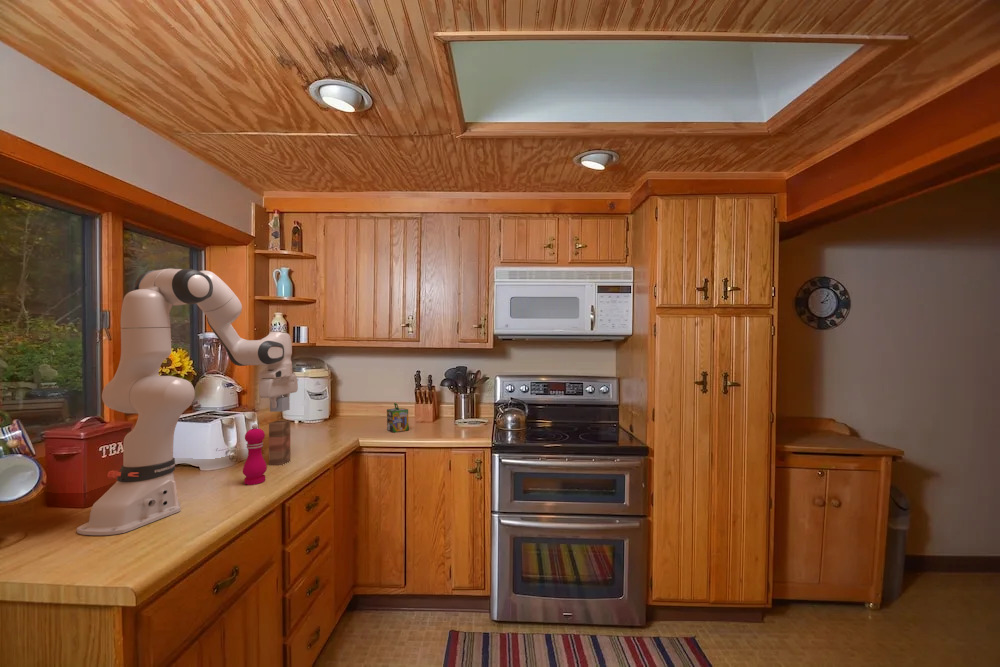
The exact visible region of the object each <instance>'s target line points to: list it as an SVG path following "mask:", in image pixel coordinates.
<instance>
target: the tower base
mask: <svg viewBox="0 0 1000 667" xmlns="http://www.w3.org/2000/svg"><path fill="white" fill-rule="evenodd" d="M289 461H290V462H291V447H290V448H289V449H287V450H285V451H269V450H268V466H279V465H282V466H284V465H286V464H288V463H290V462H289ZM287 462H288V463H287ZM285 463H286V464H285ZM283 464H284V465H283Z"/></svg>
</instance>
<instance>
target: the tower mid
mask: <svg viewBox="0 0 1000 667" xmlns="http://www.w3.org/2000/svg"><path fill="white" fill-rule="evenodd" d="M289 448H290V449H291V434H290V435H287V436H285V437H269V436H268V452H269V451H285V450H287V449H289Z"/></svg>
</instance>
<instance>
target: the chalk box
mask: <svg viewBox="0 0 1000 667" xmlns="http://www.w3.org/2000/svg"><path fill="white" fill-rule="evenodd" d="M393 405H394V408H388V409H386V428H387V431H389V432H390V433H392V434H395V433H399V432H405V431H407V432H408V431H409V430H410V429H409V425H410V422H409V409H408V408H406V407H399V405H398V403H396V402H394V403H393Z"/></svg>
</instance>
